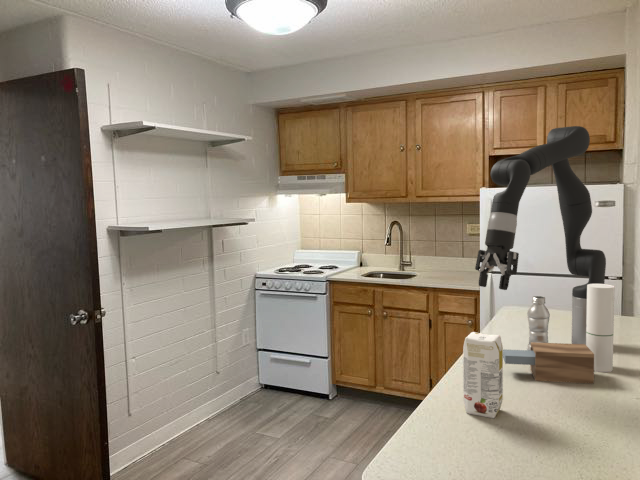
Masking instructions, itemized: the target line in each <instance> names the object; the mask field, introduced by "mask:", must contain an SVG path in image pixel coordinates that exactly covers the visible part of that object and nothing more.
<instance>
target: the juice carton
mask: <svg viewBox="0 0 640 480" xmlns="http://www.w3.org/2000/svg"><path fill="white" fill-rule="evenodd" d="M462 349H463V350H462V354H463V355H462V356H463V357H462V359H463V360H462V361H463V362H462V369H463V371H462V373H463V375H462V377H463V379H462V380H463V382H462V383H463V386H462V387H463V389H462V391H463V392H462V393H463V397H462V398H463V405H464V409H465V413H466V414H468V415H469V414H470V415H472V416H473V415H475V416H480V417H483V418H489V419H495V418H496V416H497V415H498V413H499V411H500V409H501V407H502V404H503V400H504V395H503V393H504V392H503V391H504V389H503V387H504V384H503V383H504V377H503V376H504V359H503V349H504V346H503V342H502V337H501V335H500V334H485V333H480V332H476V331H471V332H470V333H469V334H468V335H467V336H466V337H465V338H464V342H463V347H462Z"/></svg>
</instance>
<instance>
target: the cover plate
mask: <svg viewBox="0 0 640 480" xmlns="http://www.w3.org/2000/svg"><path fill="white" fill-rule="evenodd" d="M503 363H504V364H505V365H524V366H525V365H527V366H530V365H535V353H534V351H532V350H527V349H526V350H525V349H505V348H503Z"/></svg>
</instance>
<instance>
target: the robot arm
mask: <svg viewBox="0 0 640 480" xmlns="http://www.w3.org/2000/svg"><path fill="white" fill-rule="evenodd" d="M590 138H591V137H590V133H589V131H588V129H587V128H585V127H584V126H580V125H576V126H575V125H573V126H571V125H570V126H563V127H555V128H552V129H551V130H550V131H549V132H548V133H547V138H546V143H543V144H541V145H540V144H539V145H536V146H534V147H532V148H529V149H527V150H525V151H524V152H522V153H519V154H517V155H513V156H510V157H506V158H504V159H500V160H498V161H496V163H494V164H493V166H492V167H491V170H490V178H491V180H492V182H493V183H494V184H496V185H498V186H500V187H501V186H507V187H506V189H504V190H503V191H499V192H497V193H495V194H494V195H493V198H492V202H491V203H492V204H491V210H490V214H489V218H488V221H487V229H486V235H485V239H484V240H485V242H484V245H485V246H487V247H486V250H484V249H479V250H478V252H477V256H476V263H475V266H474V267H475V268H474V269H475V271H478V272H479V277H478V287H482V288H486V287H487V285H488V278H489V272H490V271H491V270H492V269H494V268H498V269H499V271H500V273H501V275H500V279H499V285H498V289H499V290H503V291H507V290H508V288H509V285H510V278H511V277H512V276H513V275H517V273H518V263H519V255H520V254H519V252H517V251H516V252H515V251H512V249H513V248H514V246H515V245H514V244H515V239H516V233H517V226H518V213H519V205H520V202H521V200H522V197H523V196H524V193H525V190H526V189H527V186H528V183H529V181H530V178H531V176H533V175H535V174H537V173H539V172H541V171H542V170H544V169H546V168H547V167H550V166H551V167H552V171H553V174H554V175H553V176H554V179H555V184H556V189H557V195H558V196H557V197H558V203H559V205H558V206H559V211H560V214H561V215H560V216H561V219H562V220H561V221H562V226H563V232H564V240H565V255H566V256H565V257H566V266H567V268H568V271H569V272H570V274H571V275H573V276H578V277H579V276H580V277H586V278H587V277H588V282H586V283H585V284H582V285H576V286H574V287H573V288H572V293H571V295H572V296H571V344H585V345H586V319H587V285H588V284H605V280H606V279H605V278H606V277H605V276H606V270H607V269H606V268H607V259H606V255H605V253H604V251H603V250H600V249H591V248H590V249H588V248H582V246H581V237H582V234H583V231H584V229H585V228H586V226H587V225H588V223H589V221H590V219H591V217H592V214H593V206H592V200H591V198H592V197H591V194H590V191H589V190H588V188H587V186H586V185H585V183H583V181H582V180H581V179H580V178H579V177H578V175H576V173H575V172H574V171H573V169H572V168H571V165H570V162H569V159H570V158H573V157H577V156H581V155H584V154H585V153H586V151H588V148H589V146H590V140H591V139H590Z"/></svg>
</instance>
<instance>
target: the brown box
mask: <svg viewBox="0 0 640 480" xmlns="http://www.w3.org/2000/svg"><path fill="white" fill-rule="evenodd" d="M530 350H532V351H534V353H535V365H529V366H530V367H529V368H530V372H531V374H532V376H533V378H534V380H535V382H556V383H557V382H558V383H573V384H574V383H576V384H593V385H594V384H595V380H594V378H595V374H594V373H595V371H594V353H593V352H592V351H591V350H590V349H589V348H588V347H587V346H586V345H585V344H572V343H561V342H560V343H558V342H548V343H535V342H531V349H530Z"/></svg>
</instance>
